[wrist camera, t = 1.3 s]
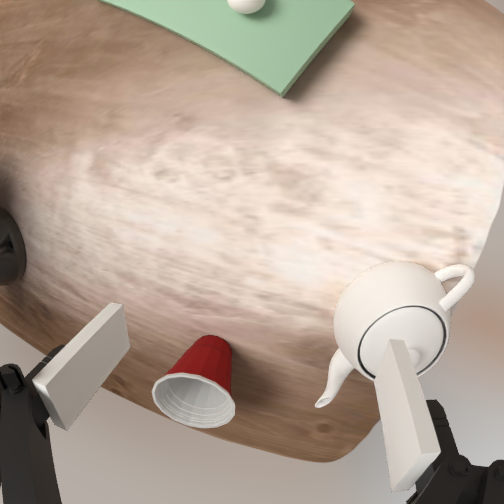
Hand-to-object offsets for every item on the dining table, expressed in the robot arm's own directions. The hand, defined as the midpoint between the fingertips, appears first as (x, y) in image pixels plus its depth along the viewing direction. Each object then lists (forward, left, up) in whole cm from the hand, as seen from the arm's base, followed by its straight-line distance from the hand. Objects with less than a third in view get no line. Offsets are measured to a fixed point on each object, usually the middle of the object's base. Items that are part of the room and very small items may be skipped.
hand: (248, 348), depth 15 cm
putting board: (-24, +18, -25) cm, 40 cm away
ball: (-17, +18, -20) cm, 32 cm away
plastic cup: (+5, -23, -26) cm, 34 cm away
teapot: (+19, -2, -26) cm, 32 cm away
